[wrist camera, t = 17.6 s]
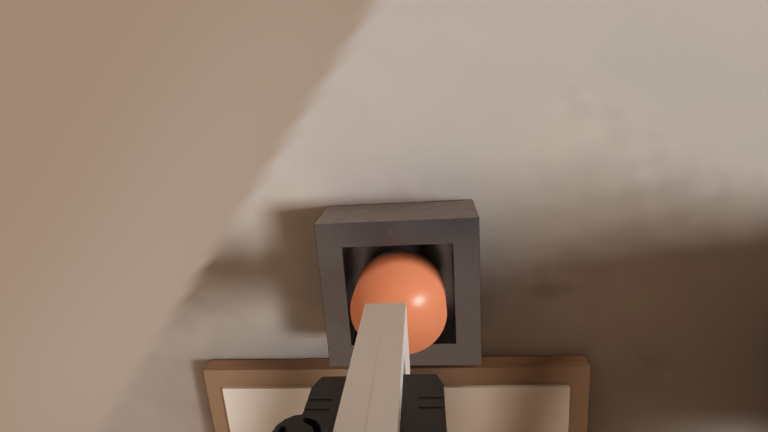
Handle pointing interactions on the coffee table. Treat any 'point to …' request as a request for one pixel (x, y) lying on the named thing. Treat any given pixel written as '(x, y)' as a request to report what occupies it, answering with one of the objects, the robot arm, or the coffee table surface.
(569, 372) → the board
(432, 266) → the button
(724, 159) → the coffee table surface
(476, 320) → the button housing
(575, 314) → the coffee table surface
